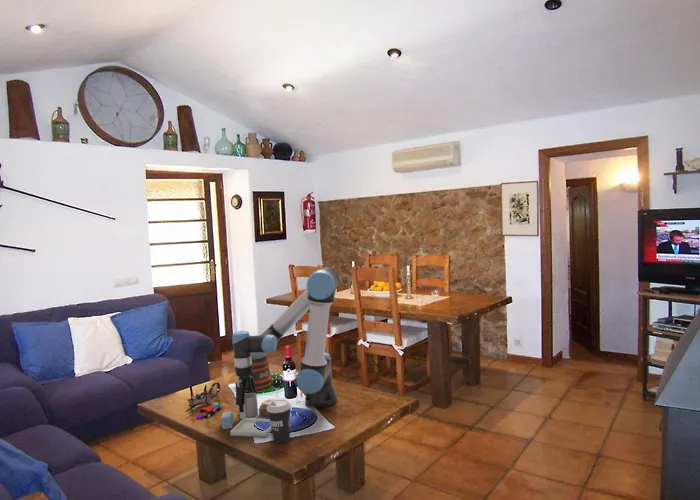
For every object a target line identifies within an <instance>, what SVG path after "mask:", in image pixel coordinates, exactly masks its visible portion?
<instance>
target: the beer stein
mask: <svg viewBox="0 0 700 500" xmlns="http://www.w3.org/2000/svg"><path fill="white" fill-rule="evenodd" d="M251 360H252V364H251V365H252V371H253V372H252V373H253V377H254V382H255V387H256V391H260V390H264V388H265V389H267V388H266V387H268V386H269V387H270V385H271V381H272V382H273V379H272V375H271V371H270V363H269V358H268V353H266V352H259V353H251ZM271 386H272V385H271ZM269 387H268V388H269ZM253 390H254V389H253Z"/></svg>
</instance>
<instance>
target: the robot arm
mask: <svg viewBox="0 0 700 500" xmlns="http://www.w3.org/2000/svg"><path fill="white" fill-rule="evenodd" d="M339 283H340V276H339V274H338V272H337V271H336V270H335V269H334V268H332V267H329V266H328V267H327V266H325V267H321V268H319V269H318V270H315V271H313V272H312V273H311V274H310V275H309V277H308V279H307V281H306V289H305V290H304V291H303V292H302V293H301V294H300V295H299V296H298V297H297V298H296V299H295V300H294V301H293V302H292V303H291V304H290V306H289V307H287V309H286V310H285V311H283V313H281V315H279V316H278V317H277V318H276V320H275V321H274V322H272V323H271V325H270V326H269V327H268V328H267V329H266V330H265V331H263V332H262V333H261V334H260V335H258V334H257V335H250V332H249V331H248V330H239V331H238V330H237V331H235V332H234V333H232V337H231V338H232V350H233V361H234V366H235V367H234V372H235V375H236V376H237V377H238V382H235V405H236V406H238V408H239V409H238V411H239V419H241V420H242V419H243V418H246V409H245V404H244V399H245V394H246V390H247V393H255V394H256V395H257V390H256V387H255V382H254V377H253V373H252V372H253V371H252V365H251V364H252V360H251V353H259V352H263V353H266V354H268V353H273V352H275V351H276V350H277V347H278V342H279V341H280V340H281V339H282V338H283V336H285V335H286V334H287V333H288V332H289V331H290V329H291V328H292V327H293V326H294V325H296V323H297V322H298V321H299V320H300V319H301V318H302V317H304V315H305V314H306V313H307V312H308V311H309V314H308V321H307V331H306V339H305V341H306V342H305V351H304V356H303V357H302V358H301V359H300V364H299V372H298V374H297V376H296V384H297V387H298V388H299V389H300V391H302V392H303V393H305V397H304V401H305V402H304V403H305V405H306V406H307V407H310V408H325V407H329V406H331V405H334V404H336V403H337V401H338V393H337V392H336V391H337V390H335V389H336V388H335V387H334V385H333V376H332V365H331V364H332V363H331V361H332V360H331V355H330V354H329V353H328V352H325V351H326V347H327V346H326V345H327V336H328V335H327V334H328V327H329V317H330V309H331V305H332V304H333V303H334V302H335V296H336V295H335V294H336V289H337V288H338V286H339ZM253 389H254V390H253Z"/></svg>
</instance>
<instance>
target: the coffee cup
mask: <svg viewBox="0 0 700 500" xmlns="http://www.w3.org/2000/svg"><path fill="white" fill-rule="evenodd" d="M291 408H292V405H291V403H290V402H289V400H288V399H285V398H279V399H277V400H273V401H271V402H269V404H268V406H267V411H268V414H269V419H270V424H271V430H272V432H271V435H272V440H273V442H274V443H276V444H284V443H287V442H289V441H290V440H291V425H290V424H291V422H290V421H291V417H290V416H291V414H290V413H291Z"/></svg>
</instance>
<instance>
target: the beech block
mask: <svg viewBox="0 0 700 500" xmlns="http://www.w3.org/2000/svg"><path fill="white" fill-rule="evenodd" d="M273 400H278V399H277V398H271V397H270V398H268V399H266V400H265V401H262V402H261V403H260V405H268V404H269V402H271V401H273Z"/></svg>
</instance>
